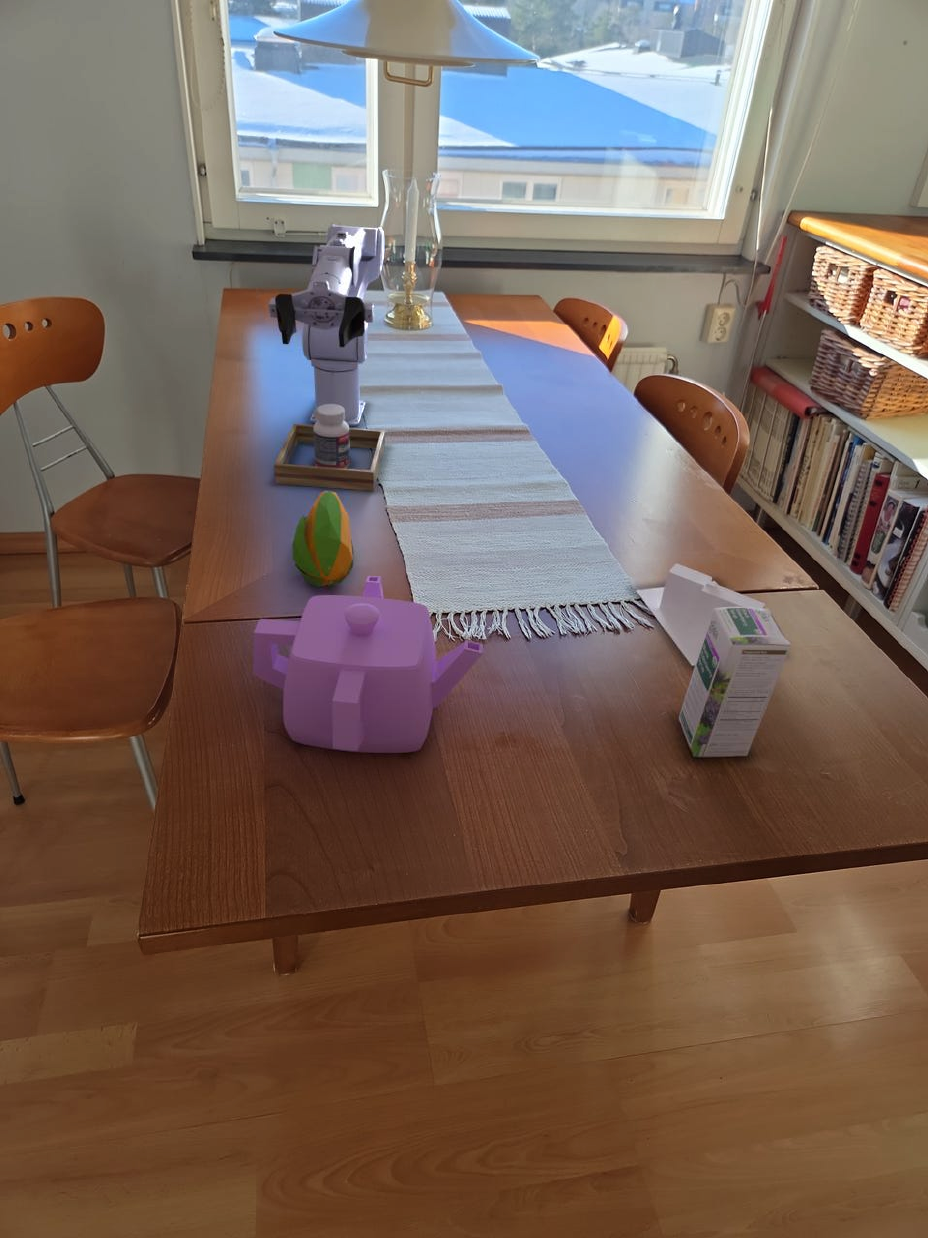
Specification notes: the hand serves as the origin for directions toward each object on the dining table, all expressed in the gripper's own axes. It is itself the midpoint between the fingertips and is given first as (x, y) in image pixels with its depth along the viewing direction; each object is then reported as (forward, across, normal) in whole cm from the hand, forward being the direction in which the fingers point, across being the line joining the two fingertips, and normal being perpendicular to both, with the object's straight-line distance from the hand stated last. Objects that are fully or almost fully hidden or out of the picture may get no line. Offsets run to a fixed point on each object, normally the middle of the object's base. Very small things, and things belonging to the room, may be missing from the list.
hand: (313, 338), depth 114 cm
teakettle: (+53, +13, +12) cm, 55 cm away
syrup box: (+54, +48, +12) cm, 73 cm away
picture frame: (+1, +1, +20) cm, 20 cm away
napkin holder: (+34, +51, +16) cm, 63 cm away
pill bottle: (+1, +1, +20) cm, 20 cm away
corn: (+26, +4, +16) cm, 31 cm away
